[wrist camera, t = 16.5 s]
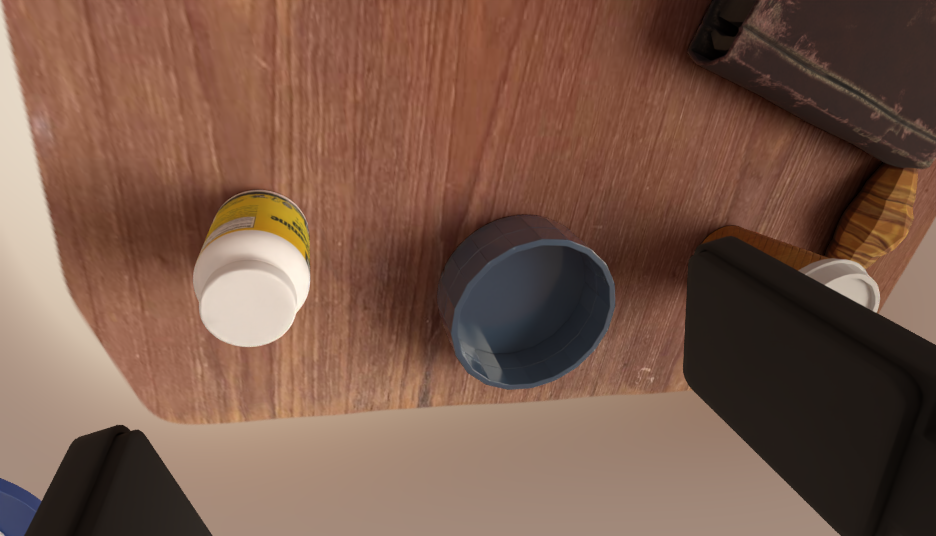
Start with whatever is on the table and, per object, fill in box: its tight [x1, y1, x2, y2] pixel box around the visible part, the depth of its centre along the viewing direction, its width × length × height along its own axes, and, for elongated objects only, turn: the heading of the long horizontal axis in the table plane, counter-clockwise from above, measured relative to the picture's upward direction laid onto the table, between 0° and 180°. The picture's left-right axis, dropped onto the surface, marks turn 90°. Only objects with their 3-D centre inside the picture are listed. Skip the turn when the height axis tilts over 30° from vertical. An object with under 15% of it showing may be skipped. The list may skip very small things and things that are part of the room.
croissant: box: [825, 163, 918, 269], centre depth 50 cm, size 14×7×5 cm, turn 163°
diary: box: [688, 0, 936, 169], centre depth 39 cm, size 19×25×5 cm
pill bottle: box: [193, 190, 310, 347], centre depth 32 cm, size 6×6×11 cm
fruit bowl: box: [437, 215, 615, 390], centre depth 42 cm, size 13×13×5 cm
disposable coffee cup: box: [702, 226, 880, 313], centre depth 44 cm, size 10×10×12 cm
